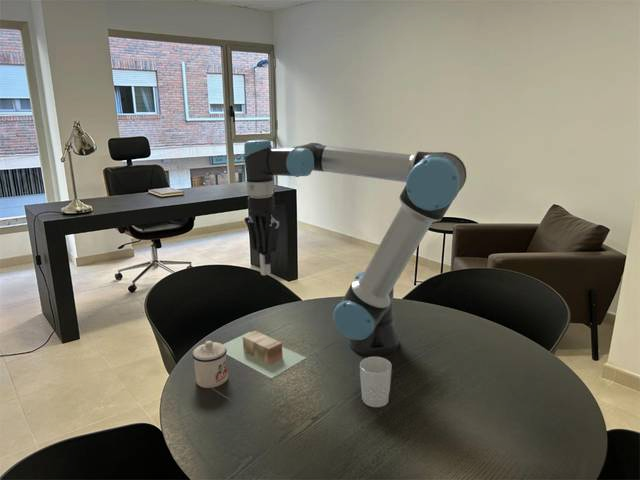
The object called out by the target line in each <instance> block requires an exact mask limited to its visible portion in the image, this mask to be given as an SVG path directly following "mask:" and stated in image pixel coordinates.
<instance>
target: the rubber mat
mask: <svg viewBox="0 0 640 480" xmlns="http://www.w3.org/2000/svg"><path fill="white" fill-rule="evenodd" d="M251 332H252V331H248V332H247V333H244V334H242V335H240V336H238V337H236V338H233V339H231V340H229V341H227V342H225V343H223V345H224V346H225V347H226V349H227V352H226V356H229V357H230V358H232V359H234V360H235V361H237V362H240V363H242V364H244V365H245V366H248V368H250V369H253V370H255V371H257V372H258V373H260V374H262V375H263V376H266V377H268V378H269V379H270V380H271V381H272V380H273V379H275V378H276V377H278V376H280V375H282V374H283V373H285V372H287V371H288V370H290V369H291V368H293V367H295V366H297V365H300V363H302V362H304V361H306V360H307V357H306V356H304V355H301V354H299V353H297V352H295V351H292V350H290V349H288V348H286V347H284V346H282V355H283V358H281V359H280V360H278V361H276V362H274V363H272V364H271V365H270V364H268V363H266V362H264V361H262V360H260V359H258V358H256V357H254V356H252V355H250V354H248V353H246V352H244V348H243V336H245V335H247V334H249V333H251Z"/></svg>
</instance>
